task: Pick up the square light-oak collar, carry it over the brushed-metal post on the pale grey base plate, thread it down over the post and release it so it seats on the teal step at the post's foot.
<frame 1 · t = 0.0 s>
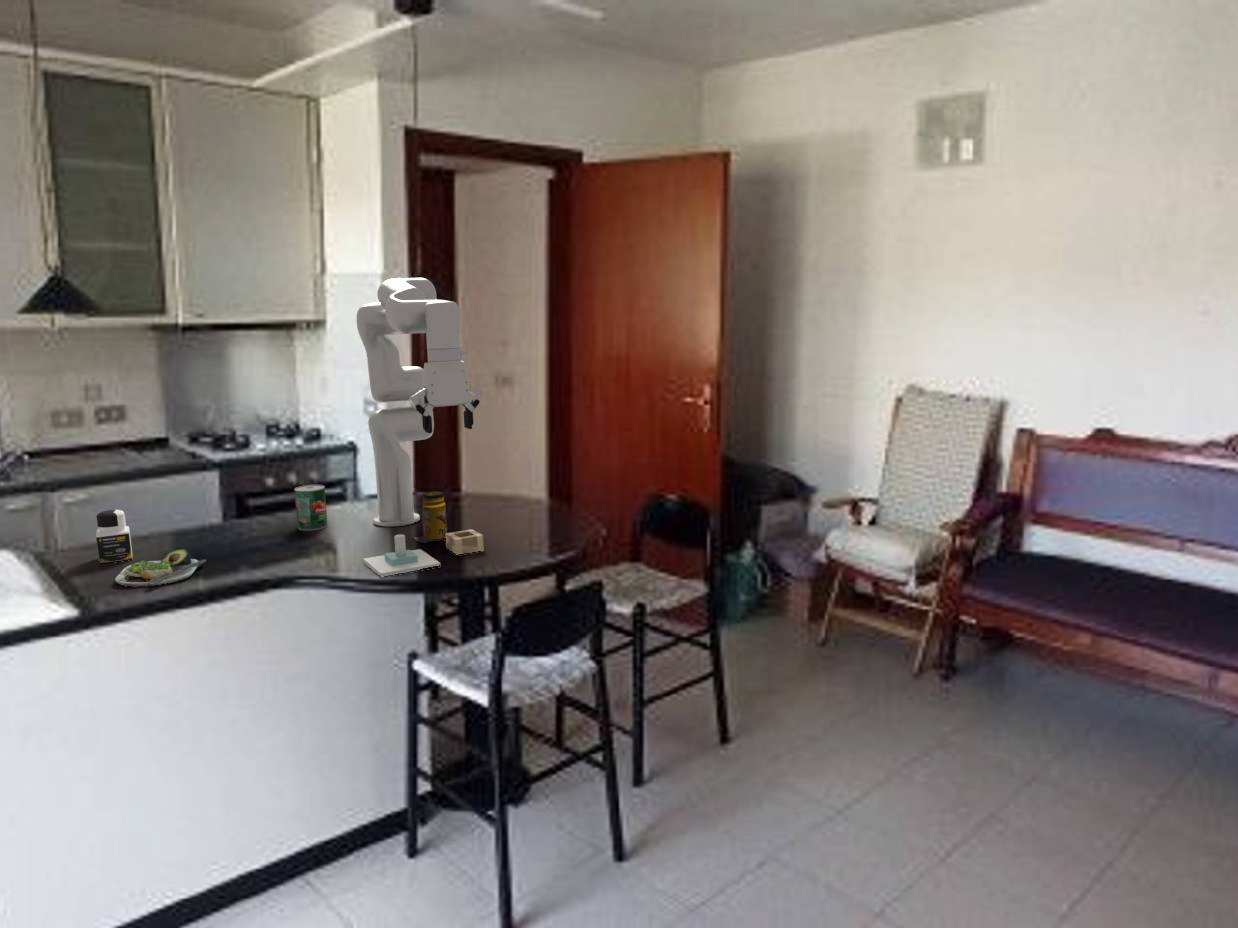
hand: (448, 430, 217), 31 cm above the counter, tool pointing down, fingers open, 9 cm apart
medicine bottle: (116, 559, 231), on the counter
salad plate: (160, 577, 217), on the counter
collar: (464, 550, 231), on the counter
post block: (401, 564, 220), on the counter
condiment: (432, 539, 242), on the counter
canned tomato: (312, 527, 257), on the counter
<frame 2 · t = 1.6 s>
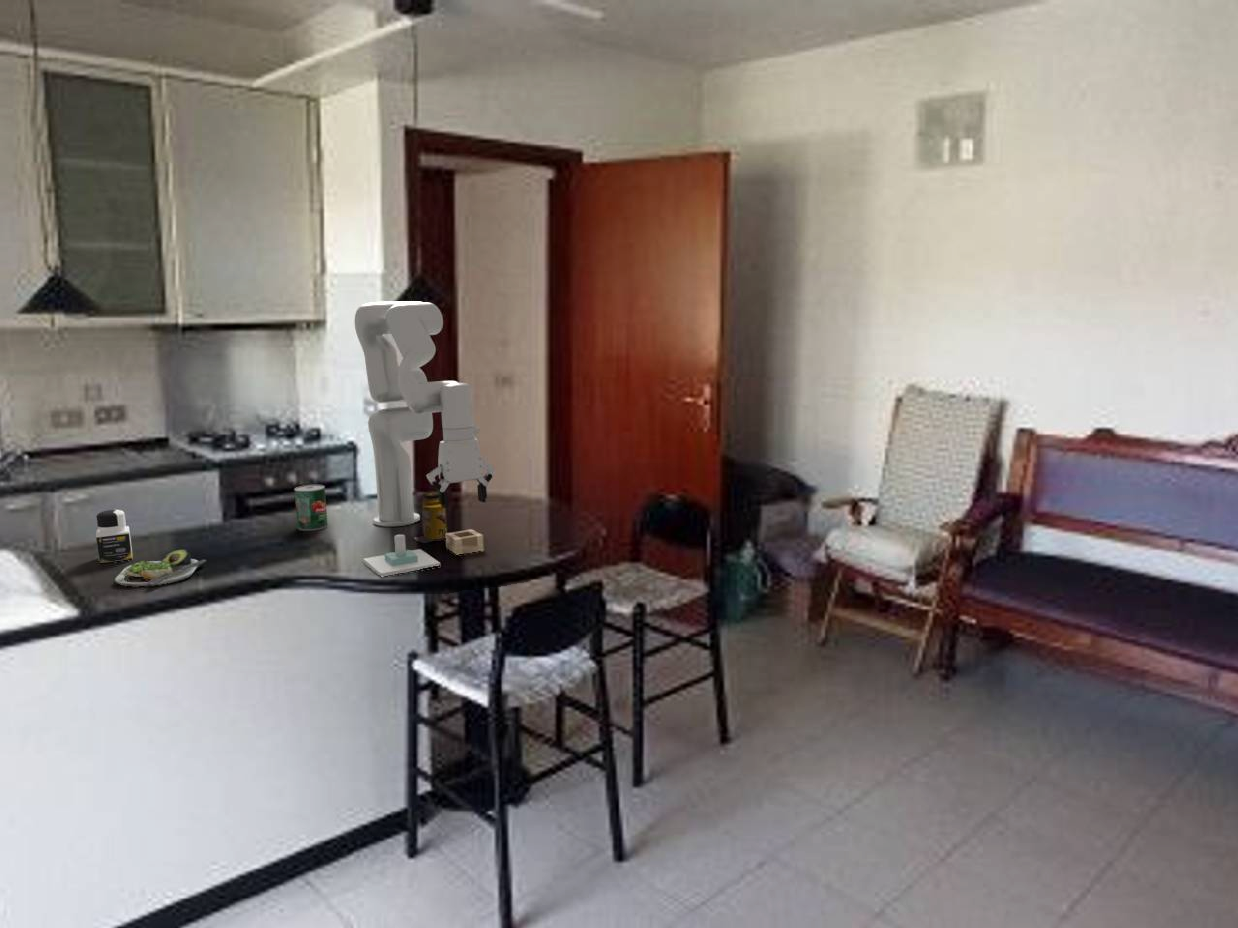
hand: (463, 504, 228), 12 cm above the counter, tool pointing down, fingers open, 9 cm apart
nothing on the counter moved.
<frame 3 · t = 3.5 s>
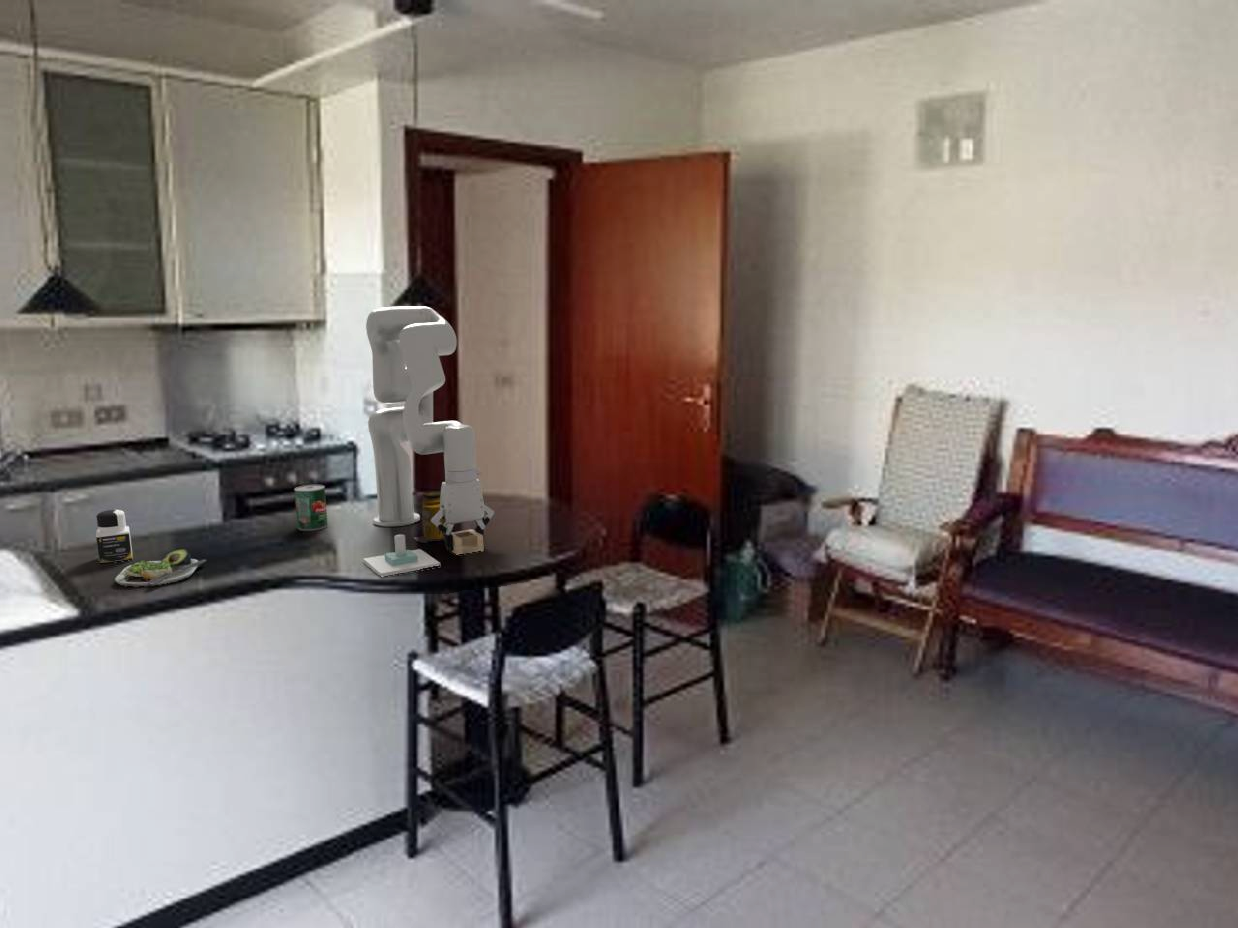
hand: (464, 546, 231), 1 cm above the counter, tool pointing down, fingers closed on collar, 7 cm apart
collar: (464, 550, 231), on the counter, touching gripper
everything else where it was.
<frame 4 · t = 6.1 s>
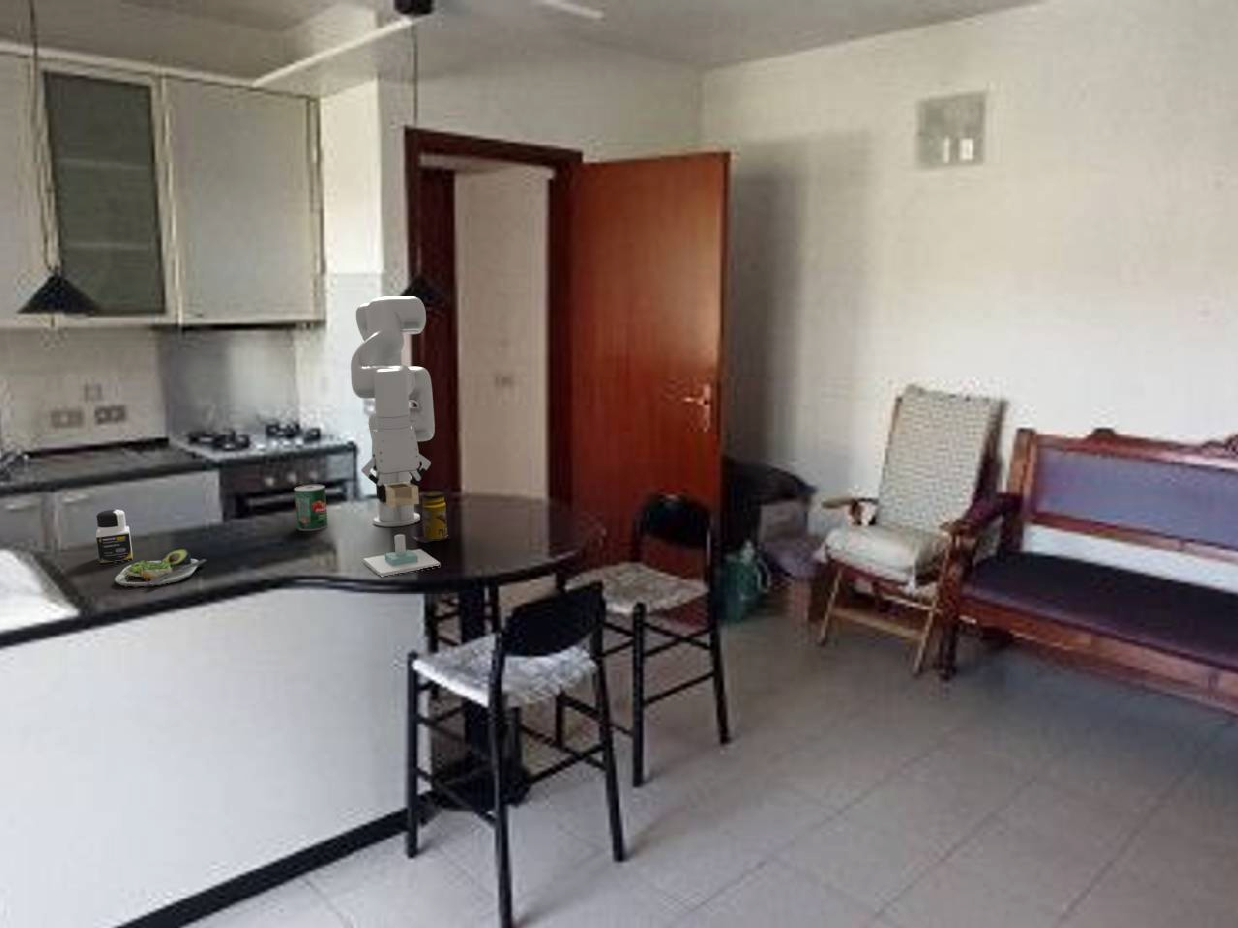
hand: (398, 498, 217), 16 cm above the counter, tool pointing down, fingers closed on collar, 7 cm apart
collar: (399, 502, 217), point 15 cm above the counter, touching gripper
everything else where it was.
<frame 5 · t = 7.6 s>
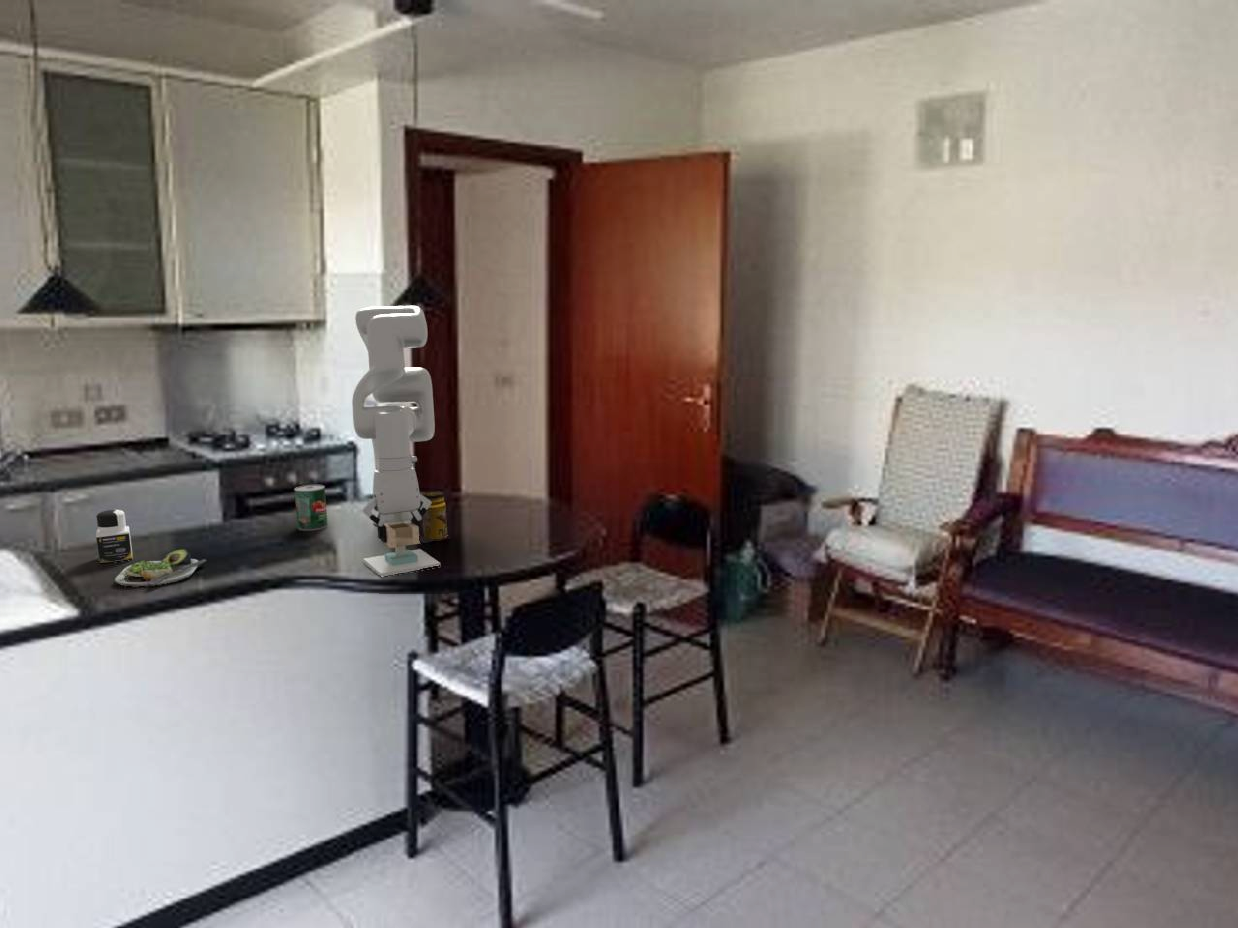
hand: (399, 538, 219), 6 cm above the counter, tool pointing down, fingers closed on collar, 7 cm apart
collar: (400, 542, 219), point 5 cm above the counter, touching gripper
everything else where it was.
when the fingers open (4 cm above the counter, at t = 9.0 s): collar stays where it is, resting on post block.
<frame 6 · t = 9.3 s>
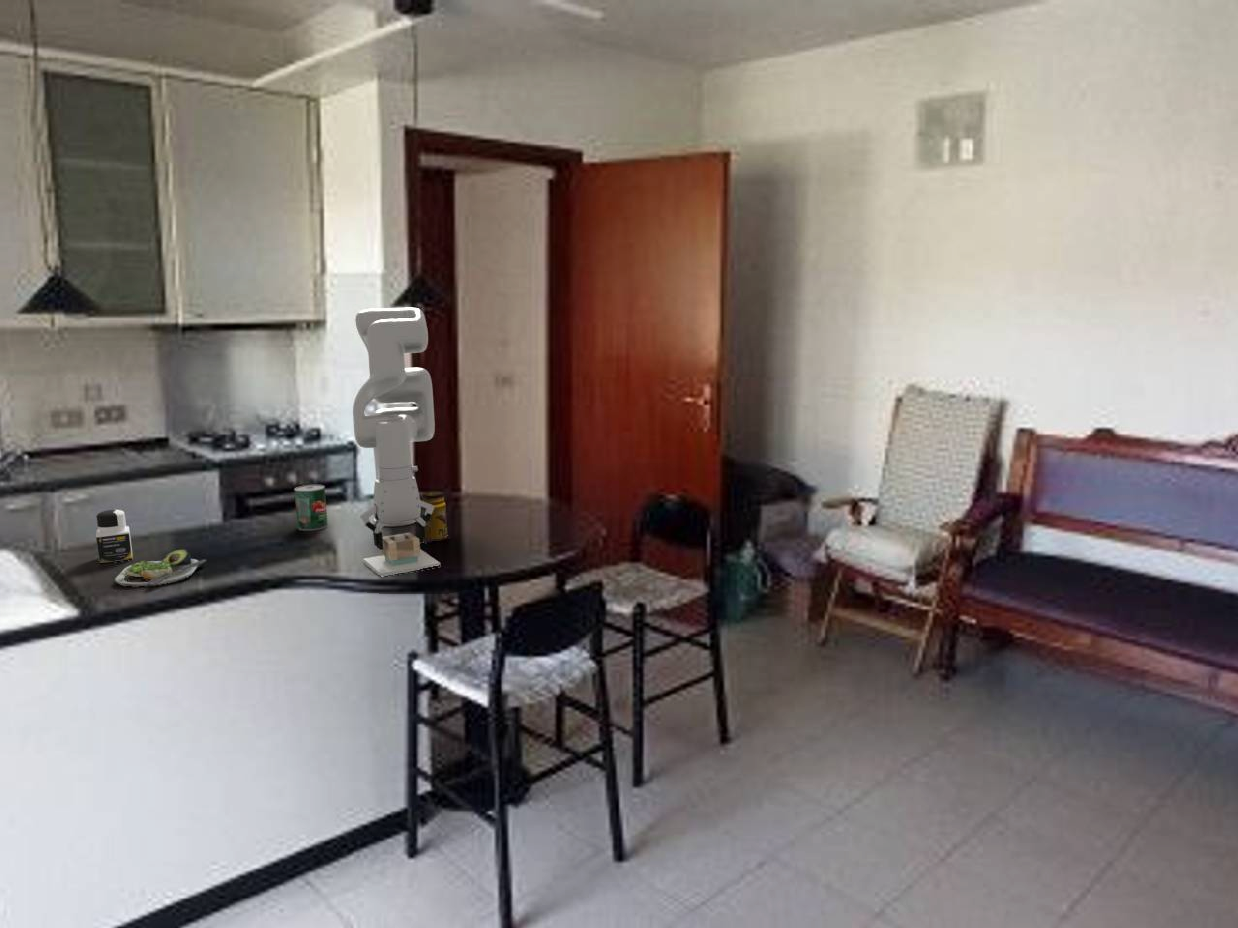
hand: (400, 545, 219), 5 cm above the counter, tool pointing down, fingers open, 9 cm apart
collar: (401, 554, 220), point 2 cm above the counter, touching post block
everything else where it was.
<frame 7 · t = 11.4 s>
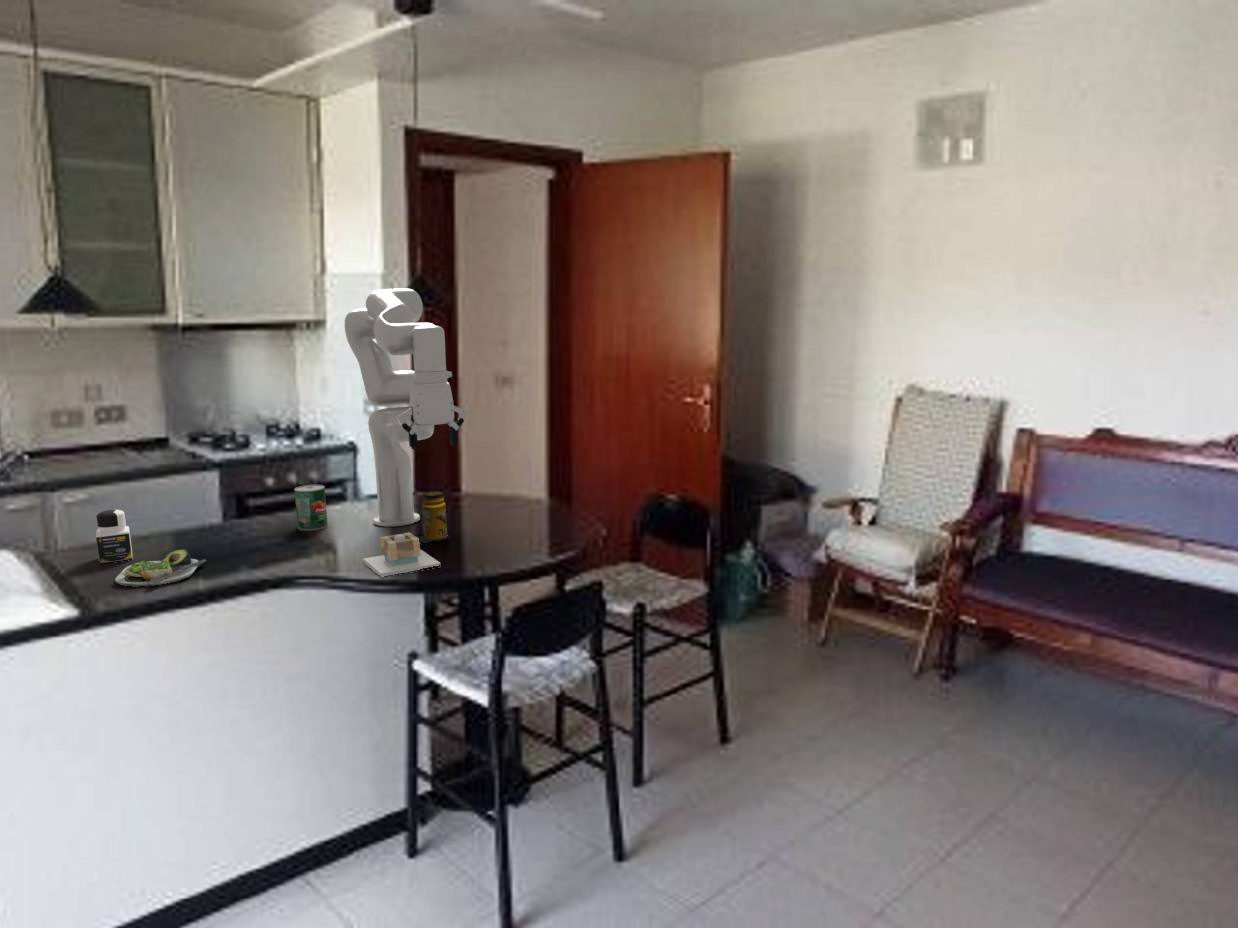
hand: (433, 447, 229), 25 cm above the counter, tool pointing down, fingers open, 9 cm apart
nothing on the counter moved.
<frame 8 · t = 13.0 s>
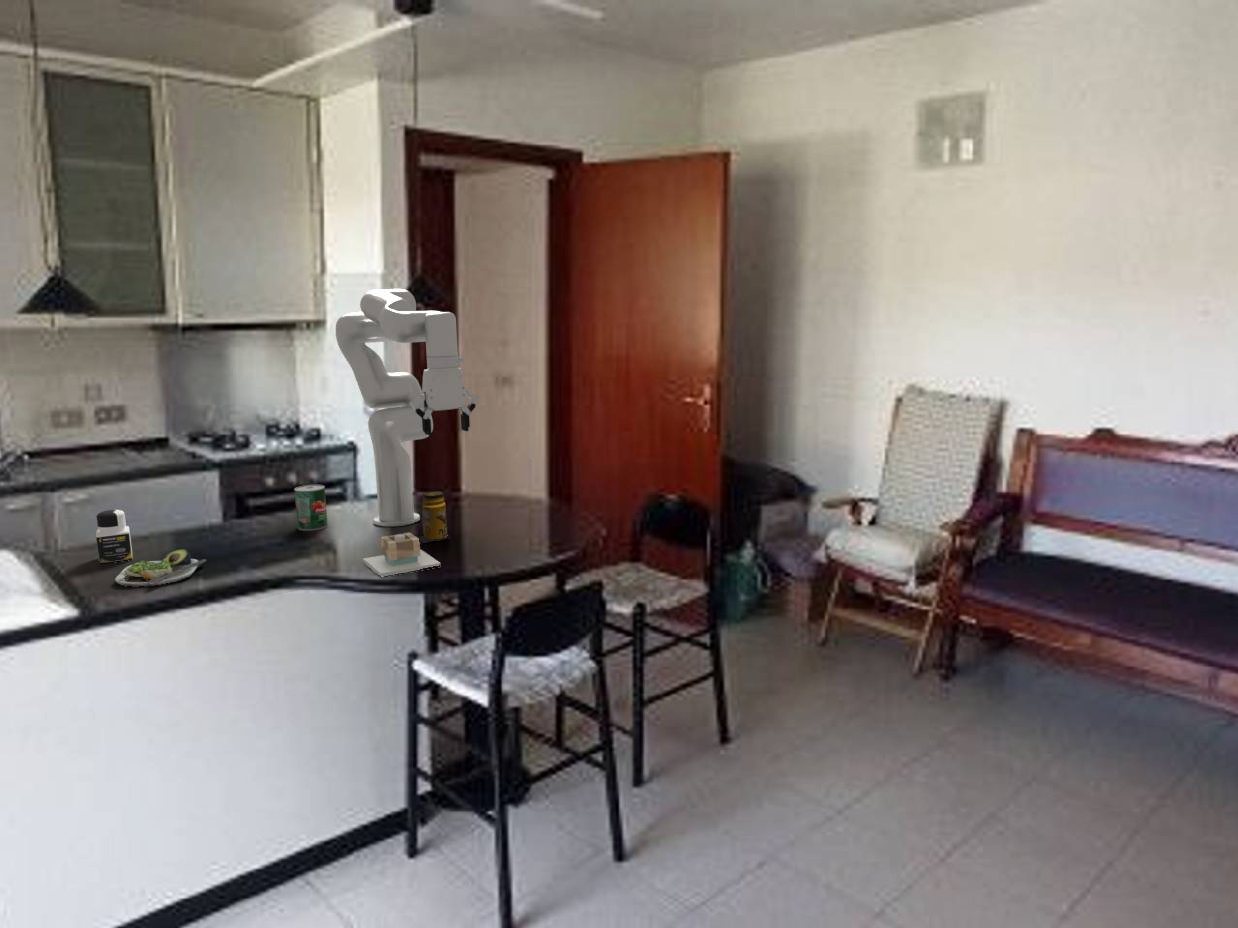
hand: (446, 432, 233), 28 cm above the counter, tool pointing down, fingers open, 9 cm apart
nothing on the counter moved.
at the end: collar 0.0 cm off-centre on the post block, point 2.5 cm above the post block's base; the gripper is holding nothing; collar tilted 0° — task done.
